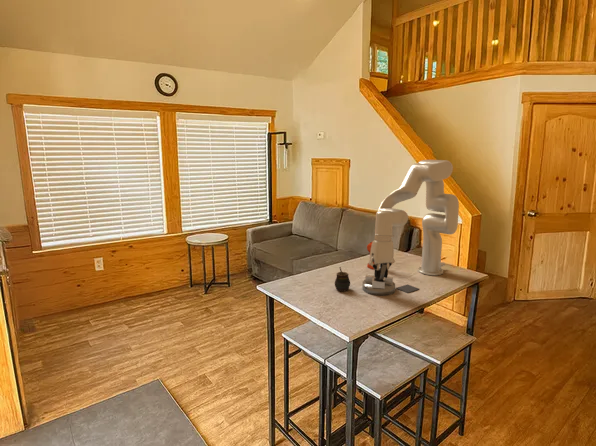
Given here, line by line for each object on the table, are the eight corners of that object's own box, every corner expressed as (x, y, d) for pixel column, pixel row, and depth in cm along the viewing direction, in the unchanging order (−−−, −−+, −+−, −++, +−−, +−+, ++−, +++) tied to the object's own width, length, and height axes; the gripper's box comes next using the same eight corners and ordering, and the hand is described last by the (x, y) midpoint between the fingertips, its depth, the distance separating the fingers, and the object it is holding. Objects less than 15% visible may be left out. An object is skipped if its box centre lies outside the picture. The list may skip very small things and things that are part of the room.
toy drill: (390, 273, 194) (388, 244, 192) (365, 268, 209) (363, 242, 208) (397, 271, 196) (395, 243, 195) (371, 266, 212) (370, 240, 211)
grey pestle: (374, 282, 172) (379, 262, 170) (380, 283, 173) (385, 263, 171) (377, 285, 169) (382, 264, 167) (382, 286, 170) (388, 265, 168)
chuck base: (378, 281, 186) (378, 275, 186) (401, 290, 174) (402, 284, 173) (355, 288, 178) (355, 282, 178) (378, 298, 166) (379, 291, 165)
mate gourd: (339, 293, 172) (339, 272, 170) (331, 288, 179) (331, 268, 177) (352, 291, 174) (353, 270, 172) (344, 285, 181) (345, 266, 179)
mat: (407, 285, 181) (407, 284, 181) (419, 289, 176) (419, 288, 176) (396, 288, 177) (396, 287, 177) (407, 293, 171) (407, 292, 171)
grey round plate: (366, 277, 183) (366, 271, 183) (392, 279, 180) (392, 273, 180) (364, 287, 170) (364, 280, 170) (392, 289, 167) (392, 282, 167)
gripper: (393, 235, 174) (391, 273, 177) (362, 237, 168) (360, 276, 171) (403, 238, 167) (400, 278, 170) (372, 241, 161) (369, 282, 164)
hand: (380, 277), depth 171 cm, fingers closed on grey pestle, 3 cm apart
